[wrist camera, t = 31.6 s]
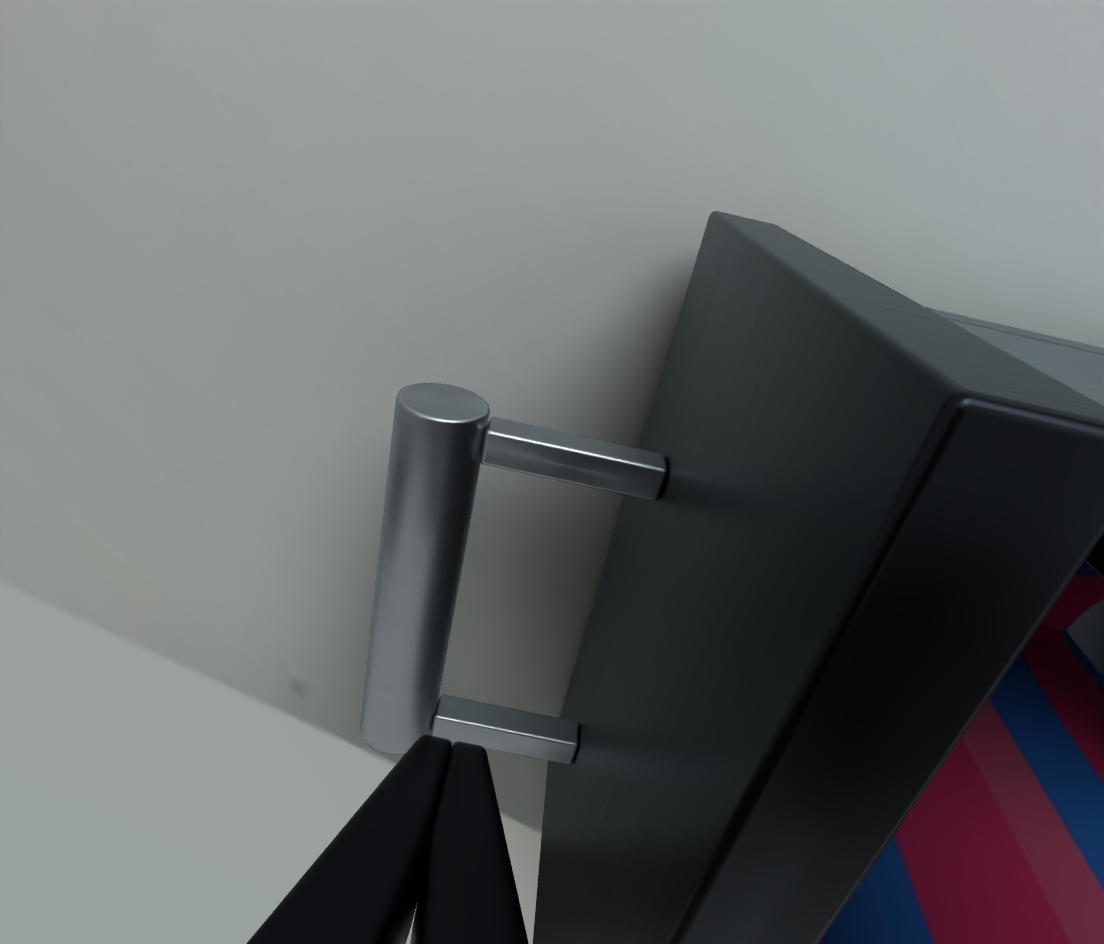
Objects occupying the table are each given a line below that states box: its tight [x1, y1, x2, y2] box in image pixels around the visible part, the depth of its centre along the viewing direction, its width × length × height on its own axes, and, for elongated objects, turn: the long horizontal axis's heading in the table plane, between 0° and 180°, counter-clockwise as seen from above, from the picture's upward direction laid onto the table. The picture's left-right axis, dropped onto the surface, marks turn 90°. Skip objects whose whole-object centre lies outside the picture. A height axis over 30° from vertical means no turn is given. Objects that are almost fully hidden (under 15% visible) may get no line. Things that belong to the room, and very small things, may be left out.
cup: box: [818, 563, 1104, 944], centre depth 10 cm, size 7×10×7 cm
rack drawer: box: [360, 211, 1104, 944], centre depth 11 cm, size 18×13×9 cm
